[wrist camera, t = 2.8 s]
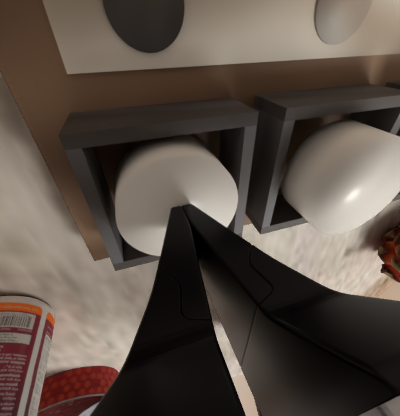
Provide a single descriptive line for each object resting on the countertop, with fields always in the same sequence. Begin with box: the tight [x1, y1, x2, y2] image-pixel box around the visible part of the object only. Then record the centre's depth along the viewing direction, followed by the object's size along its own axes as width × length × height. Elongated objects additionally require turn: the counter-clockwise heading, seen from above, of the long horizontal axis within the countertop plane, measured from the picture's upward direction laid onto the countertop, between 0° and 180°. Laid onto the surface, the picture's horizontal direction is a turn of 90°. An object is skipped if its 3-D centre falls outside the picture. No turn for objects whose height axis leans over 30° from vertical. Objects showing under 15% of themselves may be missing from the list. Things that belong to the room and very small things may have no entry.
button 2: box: [115, 135, 238, 256], centre depth 10 cm, size 5×5×2 cm
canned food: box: [37, 366, 119, 416], centre depth 25 cm, size 11×10×10 cm
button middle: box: [282, 119, 400, 235], centre depth 11 cm, size 5×5×2 cm
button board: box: [0, 0, 400, 271], centre depth 12 cm, size 14×26×4 cm, turn 91°
